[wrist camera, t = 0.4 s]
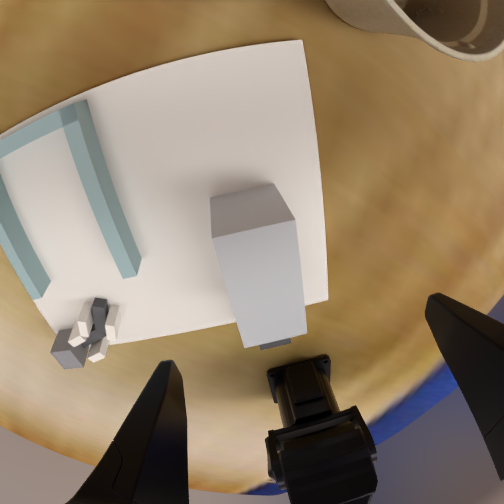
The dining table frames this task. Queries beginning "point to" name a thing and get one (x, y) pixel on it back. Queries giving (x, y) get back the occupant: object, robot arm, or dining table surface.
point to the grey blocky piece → (77, 355)
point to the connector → (260, 264)
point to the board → (172, 185)
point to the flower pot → (433, 23)
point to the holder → (96, 188)
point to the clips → (85, 325)
